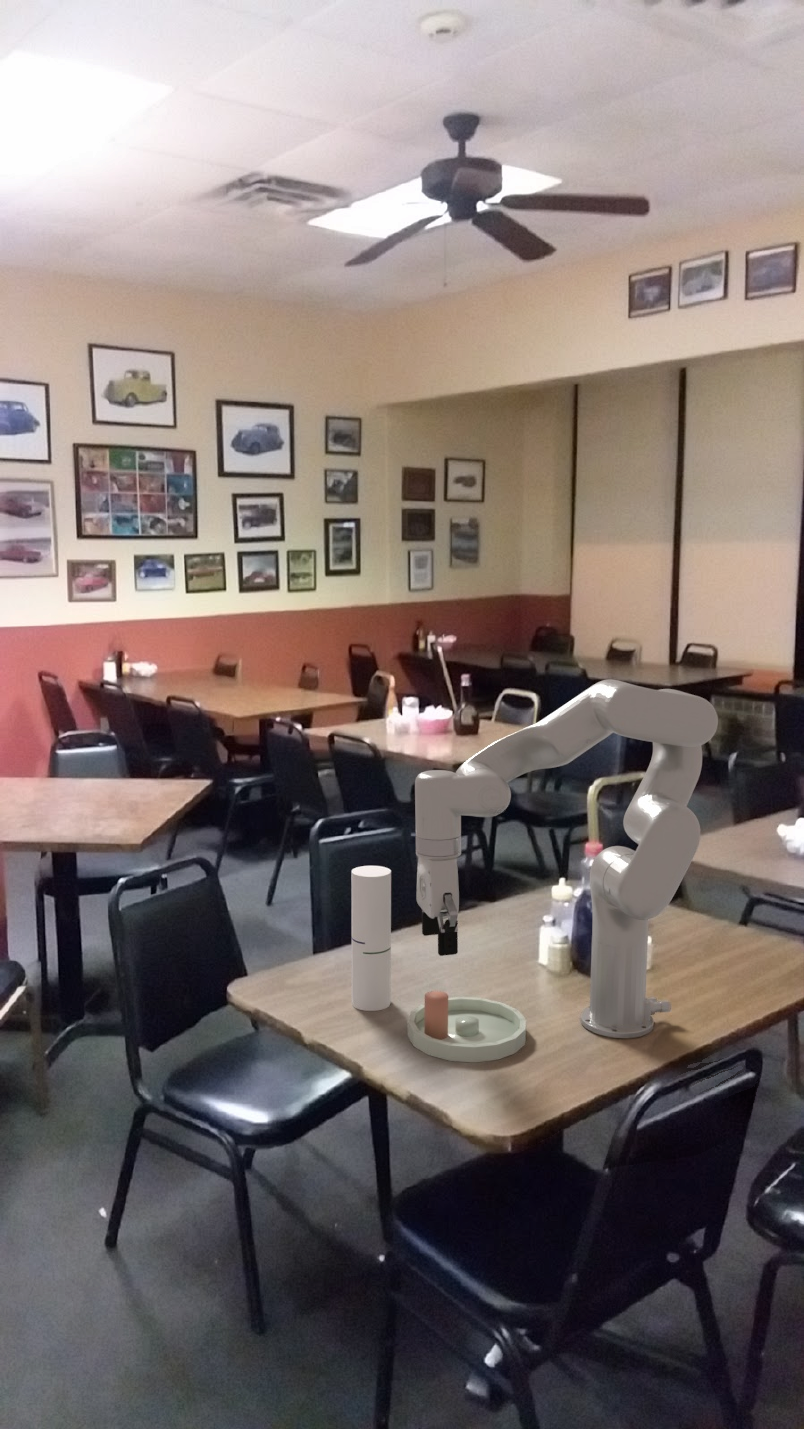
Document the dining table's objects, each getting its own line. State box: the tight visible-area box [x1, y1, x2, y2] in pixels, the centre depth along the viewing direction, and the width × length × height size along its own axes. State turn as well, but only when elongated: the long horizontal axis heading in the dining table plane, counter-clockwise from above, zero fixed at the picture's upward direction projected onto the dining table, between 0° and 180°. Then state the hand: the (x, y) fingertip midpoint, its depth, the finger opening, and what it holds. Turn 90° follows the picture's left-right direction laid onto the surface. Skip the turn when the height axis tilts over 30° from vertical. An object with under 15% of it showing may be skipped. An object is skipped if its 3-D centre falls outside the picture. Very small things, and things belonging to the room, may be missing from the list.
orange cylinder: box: [424, 990, 449, 1040], centre depth 181 cm, size 4×4×7 cm
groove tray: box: [407, 996, 527, 1063], centre depth 183 cm, size 20×20×3 cm
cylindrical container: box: [350, 865, 392, 1012], centre depth 194 cm, size 7×7×25 cm
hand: (439, 944), depth 179 cm, fingers open, 9 cm apart
